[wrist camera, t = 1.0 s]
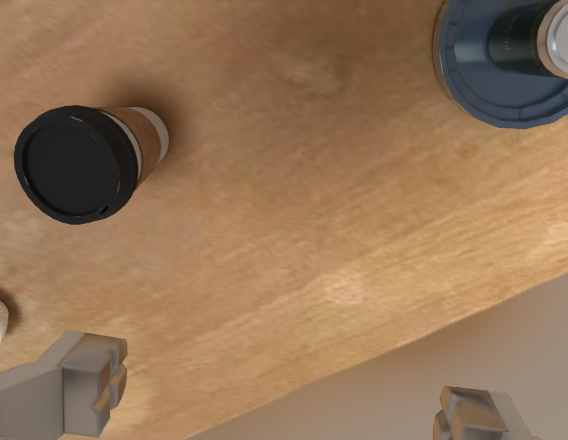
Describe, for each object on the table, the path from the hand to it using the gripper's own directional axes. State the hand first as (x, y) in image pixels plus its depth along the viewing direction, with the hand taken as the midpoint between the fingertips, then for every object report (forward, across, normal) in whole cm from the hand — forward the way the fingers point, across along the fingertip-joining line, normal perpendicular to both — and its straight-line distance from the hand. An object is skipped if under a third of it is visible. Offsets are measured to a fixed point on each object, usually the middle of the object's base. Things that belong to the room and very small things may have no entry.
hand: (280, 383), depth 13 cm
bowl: (+37, -16, -12) cm, 42 cm away
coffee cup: (+37, +16, +1) cm, 40 cm away
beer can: (+36, -16, -12) cm, 42 cm away
